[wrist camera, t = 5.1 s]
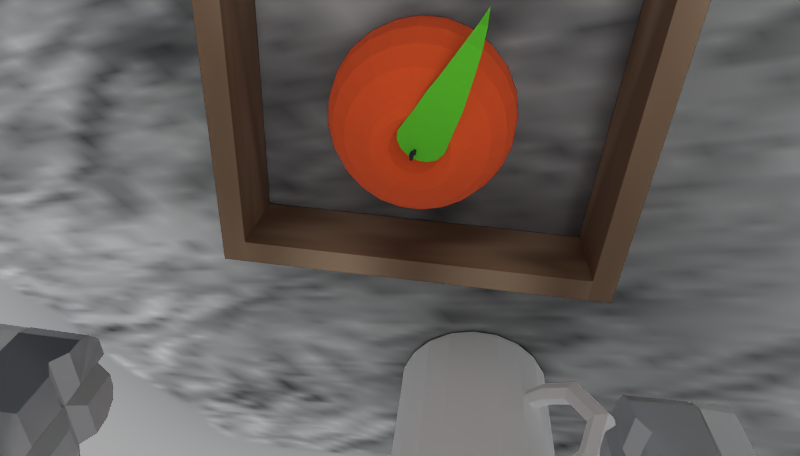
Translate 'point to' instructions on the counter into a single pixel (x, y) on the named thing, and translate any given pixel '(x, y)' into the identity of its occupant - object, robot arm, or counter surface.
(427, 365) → the mug
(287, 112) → the counter surface
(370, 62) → the clementine
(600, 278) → the wooden frame
